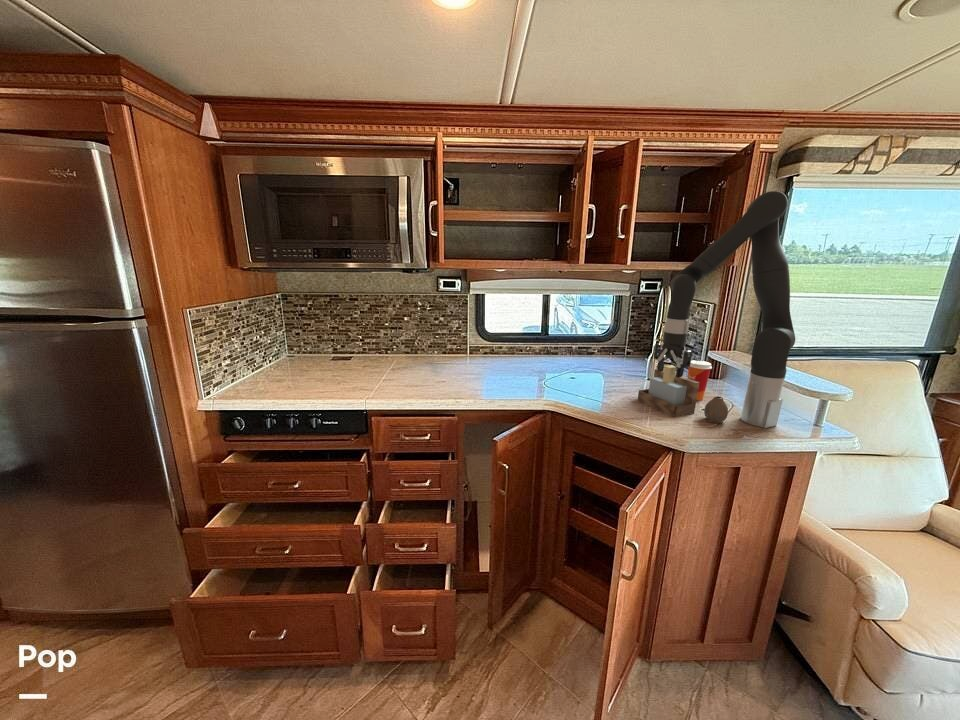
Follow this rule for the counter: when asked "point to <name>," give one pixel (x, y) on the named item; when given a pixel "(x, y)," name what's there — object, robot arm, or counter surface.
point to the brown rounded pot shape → (716, 410)
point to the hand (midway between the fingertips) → (669, 374)
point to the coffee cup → (699, 375)
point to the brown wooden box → (668, 407)
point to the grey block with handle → (668, 387)
